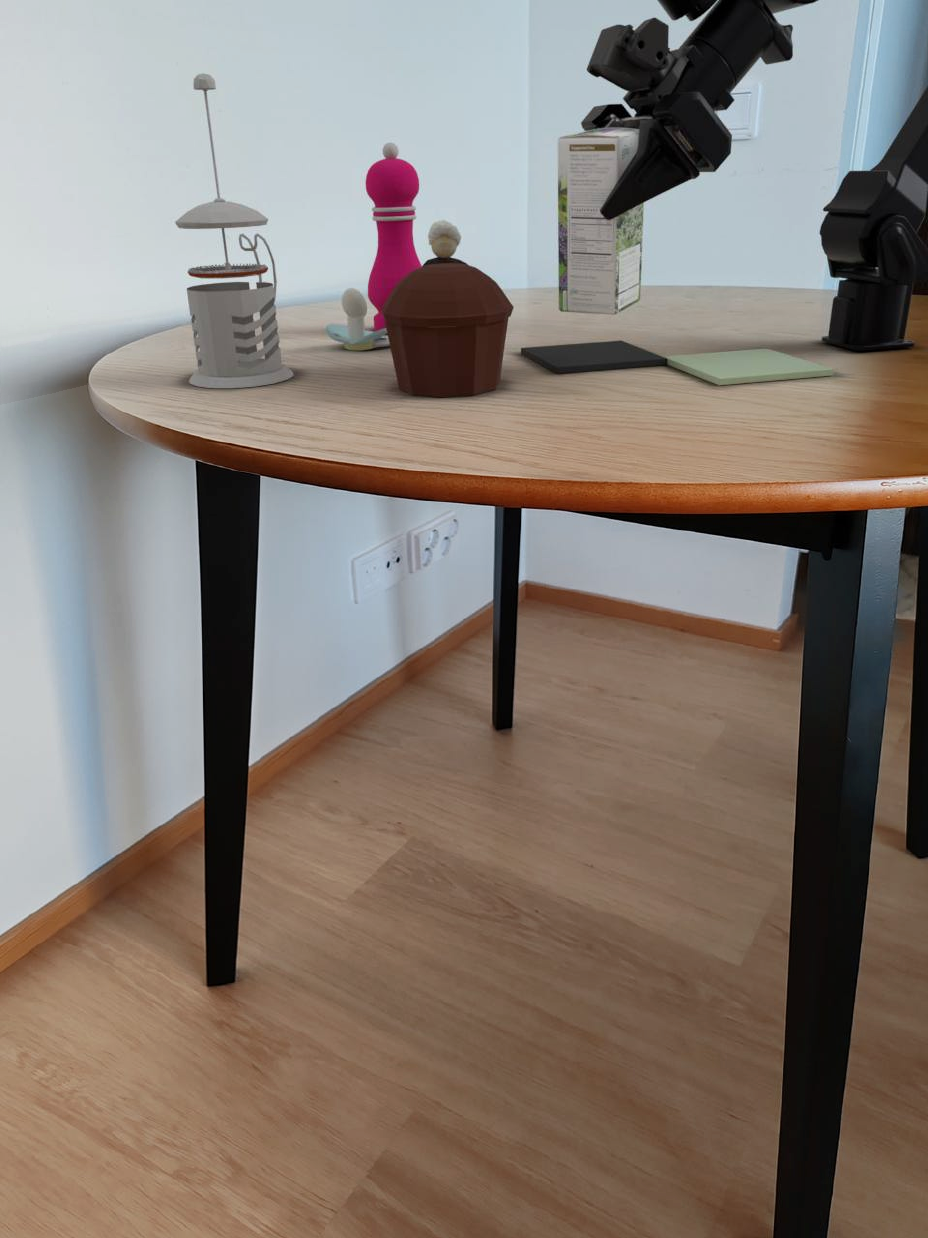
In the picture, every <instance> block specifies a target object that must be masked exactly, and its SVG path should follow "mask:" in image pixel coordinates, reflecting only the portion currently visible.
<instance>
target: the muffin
mask: <svg viewBox="0 0 928 1238" xmlns="http://www.w3.org/2000/svg"><path fill="white" fill-rule="evenodd" d="M422 266H423V265H422ZM513 311H514V305H513V304H512V302H511V301H510V300H509V298H508V297H507V295H506V293H505V292H504V291H503V289H502V288H501V286H499V284H498V283H497V281H495V280H494V279H493V278H492V277H491V276H490V275H488V274H486V273H485V272H484V271H482V270H481V269H479V268H477V267H475V266H472V265H469V264H468V265H466V264H460V263H441V264H430V265H426V266H423V267H420V268H418V269H415V270H413V271H412V272H410V273H409V274H408V275H407V276H405V277H404V278H403V279H402V280H401V281H399V282H398V283H397V284H396V286H395V287H394V289H393V290H392V292H391V293H390V295H389V297H388V299H387V300H386V302H385V304H384V305H383V307H382V309H381V312H382V314H383V316H384V319H385V325H386V329H387V334H386V335H387V337H388V339H389V344H390V345H389V348H390V353H391V357H392V361H393V367H394V372H395V375H396V380H397V384H398V390H400V391H402V392H406V393H407V394H409V395H411V396H417V397H418V396H420V397H433V398H440V399H441V398H451V397H468V396H469V397H470V396H471V397H472V396H476V395H480V394H483V393H488V392H491V391H496V390H497V387H498V385H499V384H500V382H501V377H502V376H501V375H502V366H503V361H504V352H505V346H506V338H507V331H508V324H509V318H510V317H512V313H513Z"/></svg>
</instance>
